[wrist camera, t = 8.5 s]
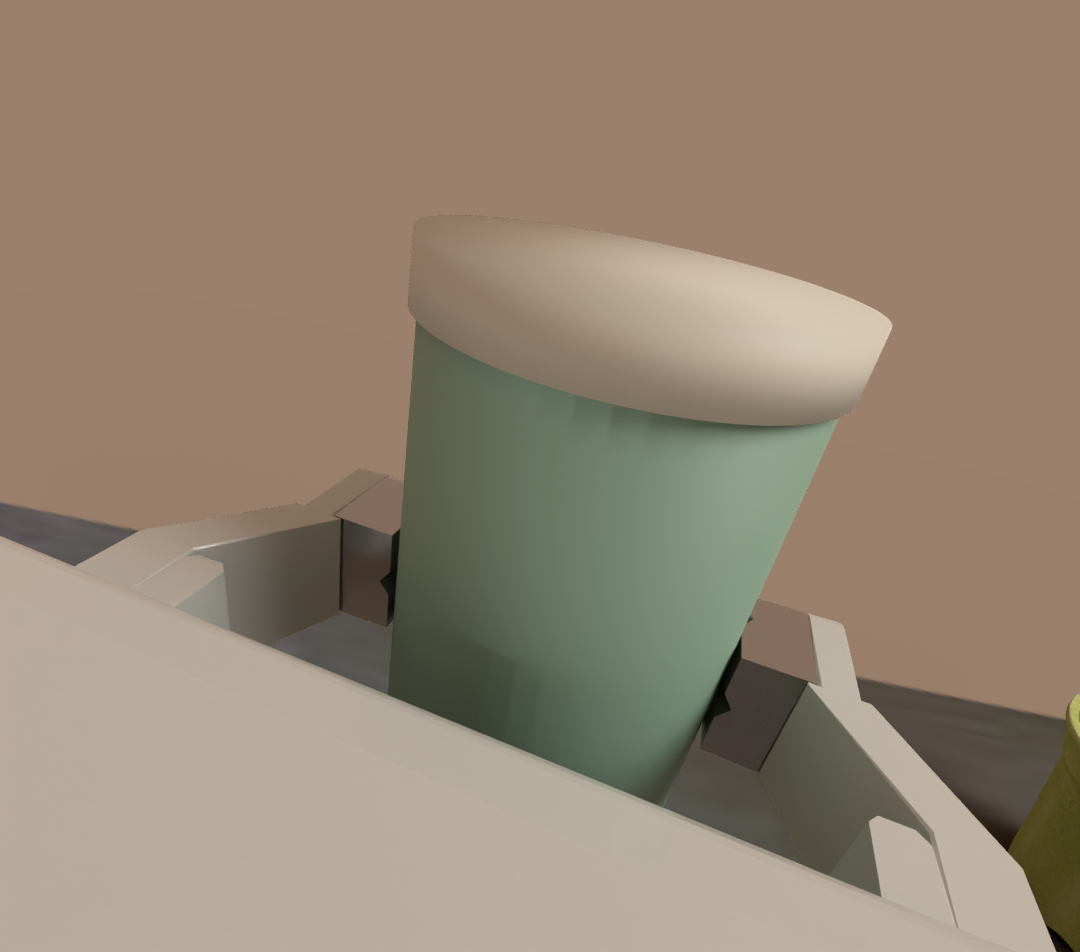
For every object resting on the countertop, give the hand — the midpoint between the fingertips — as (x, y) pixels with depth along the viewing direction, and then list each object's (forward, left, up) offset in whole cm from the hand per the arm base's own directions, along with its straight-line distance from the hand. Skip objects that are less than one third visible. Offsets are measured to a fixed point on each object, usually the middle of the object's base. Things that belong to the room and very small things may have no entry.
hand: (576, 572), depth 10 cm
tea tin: (0, +1, -7) cm, 7 cm away
